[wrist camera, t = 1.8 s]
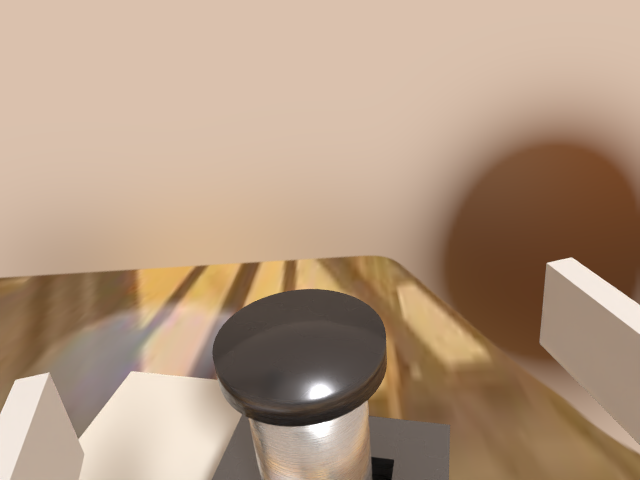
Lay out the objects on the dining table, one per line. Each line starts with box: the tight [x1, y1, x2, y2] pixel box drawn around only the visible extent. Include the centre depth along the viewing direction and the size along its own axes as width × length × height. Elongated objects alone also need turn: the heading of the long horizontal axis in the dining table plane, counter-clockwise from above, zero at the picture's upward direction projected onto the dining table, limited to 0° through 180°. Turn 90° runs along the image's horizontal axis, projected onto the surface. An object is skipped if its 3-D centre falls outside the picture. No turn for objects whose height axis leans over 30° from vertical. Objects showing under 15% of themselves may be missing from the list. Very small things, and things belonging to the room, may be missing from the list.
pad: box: [79, 371, 242, 480], centre depth 41 cm, size 14×14×1 cm
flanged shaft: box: [213, 289, 387, 480], centre depth 28 cm, size 8×8×16 cm
